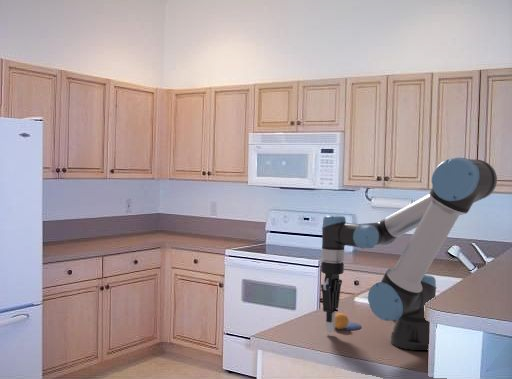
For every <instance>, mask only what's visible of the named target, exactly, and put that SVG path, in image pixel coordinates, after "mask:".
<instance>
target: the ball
mask: <svg viewBox="0 0 512 379" xmlns="http://www.w3.org/2000/svg"><path fill="white" fill-rule="evenodd" d="M349 322H350V321H349V318H348V316H347V314H345V313H342V312H341V313H340V312H339V313H338V312H337V313H335V327H336V328H338V329H344V328H346V327H347V325H348V323H349ZM338 329H337V330H338Z"/></svg>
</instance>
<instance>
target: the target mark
mask: <svg viewBox="0 0 512 379" xmlns="http://www.w3.org/2000/svg"><path fill="white" fill-rule="evenodd" d="M360 329H362V325H361V324H360V323H357V322H352V321H349V323H348V325H347V327H346V328H344V329H338V328H336V327H335V330H339V331H358V330H360Z"/></svg>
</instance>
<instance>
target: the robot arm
mask: <svg viewBox="0 0 512 379" xmlns="http://www.w3.org/2000/svg"><path fill="white" fill-rule="evenodd" d="M497 183H498V176H497V172H496V170H495V169H494V167H493V165H491V164H490V163H489V162H486V161H485V160H481V159H472V158H466V157H454V158H449V159H446V160H443V161H441V163H440V164H438V165H437V166H436V167H435V169H434V171H433V172H432V176H431V184H432V186H431V189H430V192H429V193H428V194H427V195H425V196H423V197H420V198H419V199H418V200H416V201H414V202H412V203H410V204H408V205H407V206H405V207H402V208H401V209H399V210H397V211H396V212H394V213H392V214H390V215H388V216H387V217H385V218H382V219H381V220H379V221H378V222H371V223H370V222H368V223H352V222H347V220H346V217H345V216H344V215H338V214H337V215H336V214H333V215H332V214H330V215H329V214H327V215H324V216H323V220H322V227H321V232H322V234H321V236H322V237H321V239H322V240H321V242H322V243H321V250H320V253H321V260H322V261H321V264H320V271H321V273H322V274H325V275H324V282H323V283H321V284H320V288H321V295H322V296H321V297H322V309H323V310H322V311H323V312H324V313H325V331H326V332H331V333H334V332H335V331H336V329H335V315H336V312H337V313H338V312H339V304H340V295H341V288H342V284H343V280H342V279H340V275H343V274H344V269H345V265H344V261H345V246H347V247H354V248H359V249H363V250H364V249H373V248H375V246H383V245H384V246H385V245H389V244H392V243H394V242H395V241H396V240H397V239H398V237H401V236H402V235H405V234H407V233H409V232H411V231H413V230H414V229H415V230H414V232H413V233H412V235H411V237H410V239H409V240H408V243H407V244H406V246H405V248H404V250H402V253H401V255H400V257H399V259H398V260H397V263H396V265H395V266H394V267H390V268H388V269H387V270H386V272H385V274H384V275H383V277H382V278H381V281H380V282H379V281H378V282H376V283H374V284H373V285H372V286H371V287H370V288H369V289H368V290H369V291H368V293H367V302H368V303H369V307H370V310H371V312H372V313H373V314H374V316H375V317H377V318H379V319H380V320H381V321H385V322H391V321H395V324H394V326H393V328H392V329H393V331H392V332H391V333H390V343H391V344H392V345H393V346H395V347H397V348H399V347H400V348H399V349H403V348H404V350H407V349H410V350H409V351H413V350H427V349H428V344H429V322H428V321H426V320H425V318H424V305H425V303H426V302H428V301H429V300H431V299H432V298H434V297H435V298H436V294H437V293H436V290H437V286H436V285H437V284H436V282H437V281H436V278H435V277H434V276H433V275H429V274H427V272H428V270H429V268H430V267H431V265H432V264H433V261H434V260H435V258H436V256H437V255H438V253H439V251H440V250H441V247H442V246H443V244H444V242H445V241H446V239H447V237H448V236H449V234H450V233H451V230H452V229H453V227H454V226H455V224H456V222H457V220H458V218H459V217H460V216H461V215H465V214H468V212H469V211H470V209H471V207H472V206H473V204H474V203H477V202H479V201H481V200H483V199H486V198H487V197H488V196H489V197H490V195H491V194H493V192H494V191H495V189H496V187H497Z"/></svg>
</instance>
